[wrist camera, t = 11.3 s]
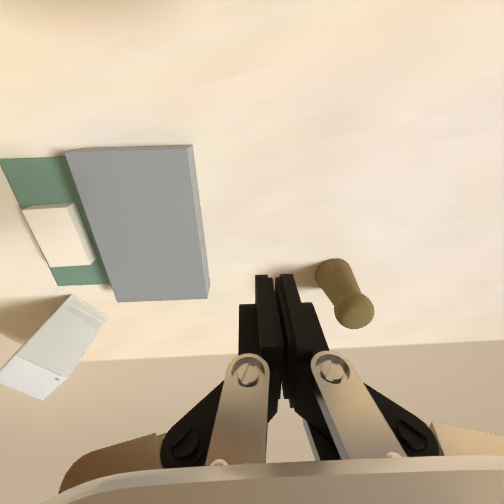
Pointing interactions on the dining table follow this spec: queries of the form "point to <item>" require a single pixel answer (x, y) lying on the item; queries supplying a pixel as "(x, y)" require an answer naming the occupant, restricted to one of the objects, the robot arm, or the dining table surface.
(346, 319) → the cork
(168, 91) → the dining table surface
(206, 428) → the robot arm
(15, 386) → the supplement box
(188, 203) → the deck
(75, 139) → the dining table surface
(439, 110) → the dining table surface
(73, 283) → the mat
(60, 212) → the card
